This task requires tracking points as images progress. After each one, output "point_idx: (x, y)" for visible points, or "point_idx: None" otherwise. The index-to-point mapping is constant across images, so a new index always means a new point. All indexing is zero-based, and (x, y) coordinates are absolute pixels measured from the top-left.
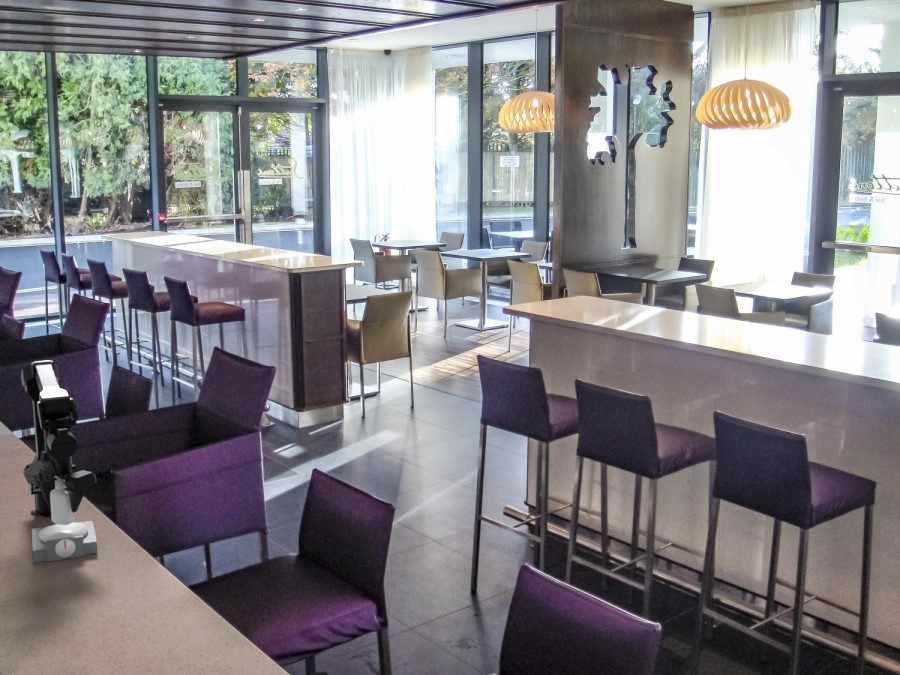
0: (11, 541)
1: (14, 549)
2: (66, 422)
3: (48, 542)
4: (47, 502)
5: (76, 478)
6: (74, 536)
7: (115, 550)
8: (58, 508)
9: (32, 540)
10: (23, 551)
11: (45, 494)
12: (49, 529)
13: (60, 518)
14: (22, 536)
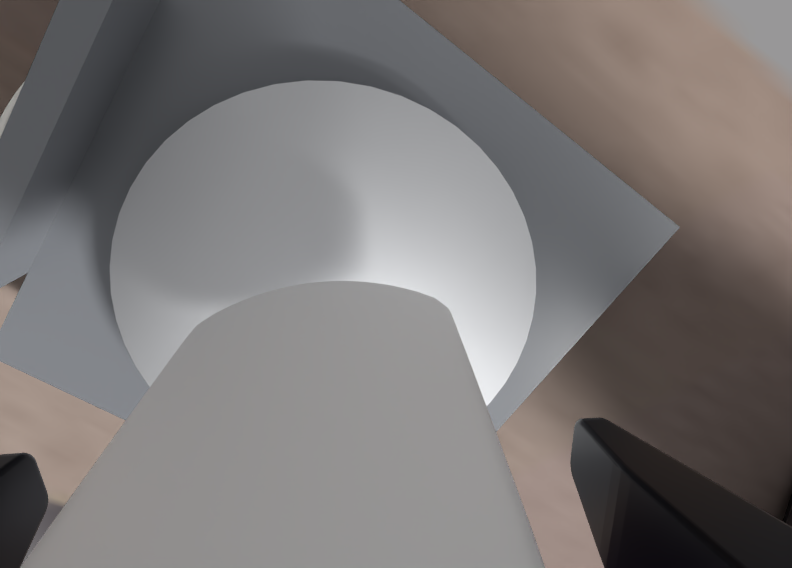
0: (759, 103)
1: (624, 11)
2: None
3: None
4: (605, 440)
5: None
6: (131, 284)
7: (9, 398)
8: (230, 397)
9: (464, 54)
10: (528, 26)
11: (718, 556)
12: (471, 261)
13: (246, 323)
14: (746, 207)
